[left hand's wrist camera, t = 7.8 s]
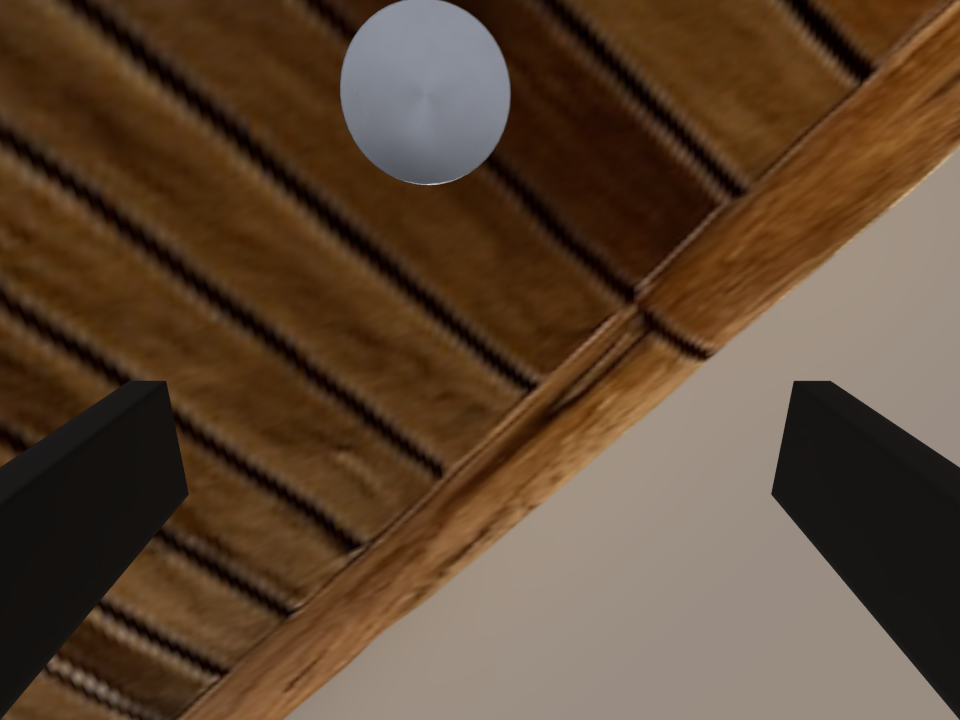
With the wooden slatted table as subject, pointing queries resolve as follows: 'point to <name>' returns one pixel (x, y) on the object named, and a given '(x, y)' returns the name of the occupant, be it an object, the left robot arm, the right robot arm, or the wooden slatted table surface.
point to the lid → (425, 91)
